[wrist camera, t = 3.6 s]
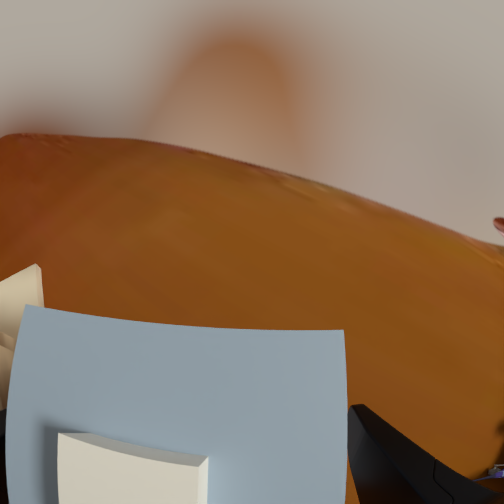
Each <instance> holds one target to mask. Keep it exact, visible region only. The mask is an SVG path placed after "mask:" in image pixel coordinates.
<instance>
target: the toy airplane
mask: <svg viewBox="0 0 504 504" xmlns="http://www.w3.org/2000/svg"><path fill="white" fill-rule="evenodd" d="M496 466H504V464H503V465H494V468H493V469H490V470H489V471H488V474H489V475H490V476H487V477H484V478H480V479H476V480H472V481H478V480H484V479H489V478H504V469H502V470H501V471H500V468H496Z"/></svg>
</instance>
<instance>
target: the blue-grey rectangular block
mask: <svg viewBox="0 0 504 504" xmlns="http://www.w3.org/2000/svg"><path fill="white" fill-rule="evenodd" d="M346 472H347V381H346V359H345V343H344V330H249V329H226V328H209V327H194V326H181V325H169V324H158V323H148V322H139V321H130V320H122V319H114V318H106V317H99V316H92V315H85V314H79V313H72V312H66V311H60V310H55V309H49V308H44V307H38V306H33V305H28V304H26V305H25V308H24V312H23V316H22V320H21V324H20V328H19V333H18V337H17V342H16V347H15V352H14V358H13V363H12V370H11V377H10V384H9V392H8V402H7V415H6V476H7V488H8V498H9V504H345V492H346Z"/></svg>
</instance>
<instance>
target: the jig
mask: <svg viewBox="0 0 504 504" xmlns="http://www.w3.org/2000/svg"><path fill="white" fill-rule="evenodd" d="M26 304H28V305H33V306H38V307H44V300H43V290H42V278H41V268H40V267H39V266H38V265H37V264H34V265H32V266H30V267H28V268H26V269H24V270H22V271H20V272H18V273H16V274H14V275H13V276H11V277H9V278H7V279H5V280H3V281H1V282H0V411H1V410H3V409H5V408H7V402H8V392H9V384H10V377H11V370H12V363H13V358H14V352H15V347H16V342H17V337H18V333H19V328H20V324H21V320H22V316H23V312H24V308H25V305H26Z"/></svg>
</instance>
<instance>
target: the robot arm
mask: <svg viewBox="0 0 504 504" xmlns="http://www.w3.org/2000/svg"><path fill="white" fill-rule="evenodd" d="M6 415H7V408H5V409H3V410H1V411H0V504H9V498H8V488H7V476H6ZM347 449H348V456H349V463H350V468H351V472H352V476H353V480H354V483H355V487H356V491H357V495H358V498H359V502H360V504H504V493H499V492H496V491H493V490H490V489H488V488H486V487H484V486H482V485H480V484H478V483H476V482H474V481H472V480H470V479H468V478H466V477H464V476H463V475H461V474H459V473H457V472H455V471H454V470H452V469H451V468H449V467H448V466H446V465H445V464H443V463H442V462H440V461H439V460H437V459H435V458H434V457H433V456H432V455H430V454H429V453H428V452H426V451H425V450H423V449H422V448H421V447H419V446H418V445H417V444H415V443H414V442H412V441H411V440H410V439H408V438H407V437H406V436H404V435H403V434H402V433H400V432H399V431H398V430H396V429H395V428H394V427H392V426H391V425H390V424H389V423H387V422H386V421H385V420H383V419H382V418H381V417H379V416H378V415H377V414H376V413H374V412H373V411H372V410H370V409H369V408H368V407H367V406H365V405H364V404H356V405H351V406H350V408H349V411H348V414H347Z"/></svg>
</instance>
